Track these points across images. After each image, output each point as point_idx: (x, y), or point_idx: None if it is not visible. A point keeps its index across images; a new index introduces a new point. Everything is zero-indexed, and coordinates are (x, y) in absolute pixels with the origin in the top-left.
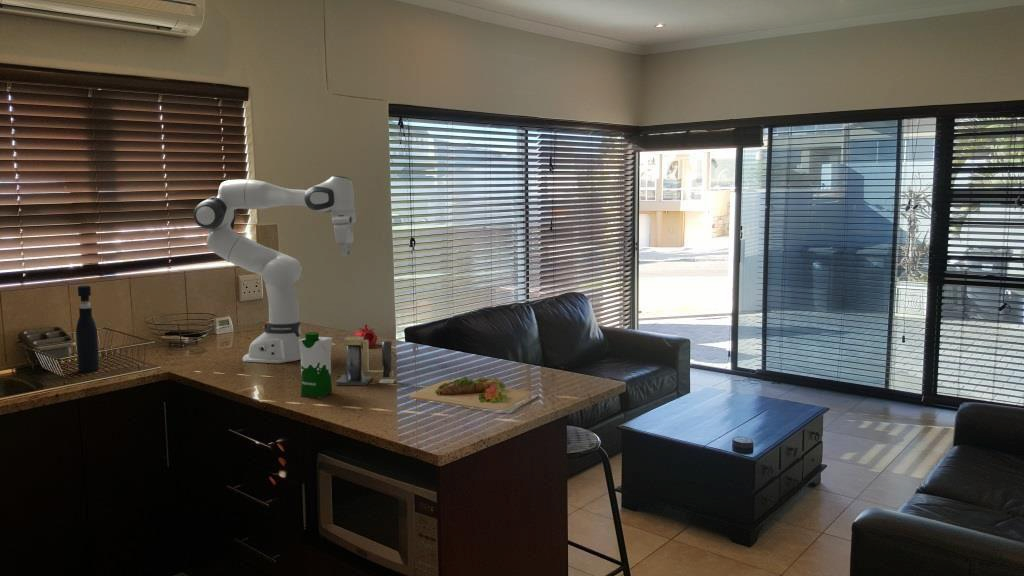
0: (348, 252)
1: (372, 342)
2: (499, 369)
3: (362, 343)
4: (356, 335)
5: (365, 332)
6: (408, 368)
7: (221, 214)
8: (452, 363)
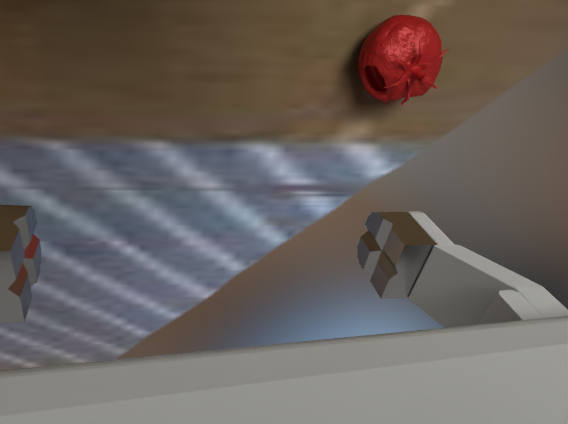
0: (375, 264)
1: (362, 81)
2: (54, 338)
3: (362, 46)
4: (393, 31)
5: (384, 70)
6: (42, 170)
7: None
8: (115, 264)
